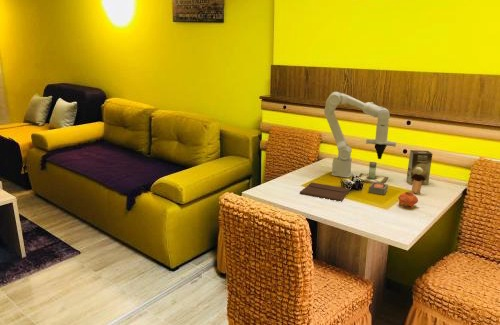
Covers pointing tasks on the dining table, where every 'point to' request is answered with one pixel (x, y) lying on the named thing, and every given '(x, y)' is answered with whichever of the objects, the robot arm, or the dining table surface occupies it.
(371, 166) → the marker
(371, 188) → the button housing
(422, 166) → the coffee box
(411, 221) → the dining table surface
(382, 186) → the button
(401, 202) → the pot
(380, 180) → the brown picture frame
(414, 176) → the grandmother figurine
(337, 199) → the notebook
